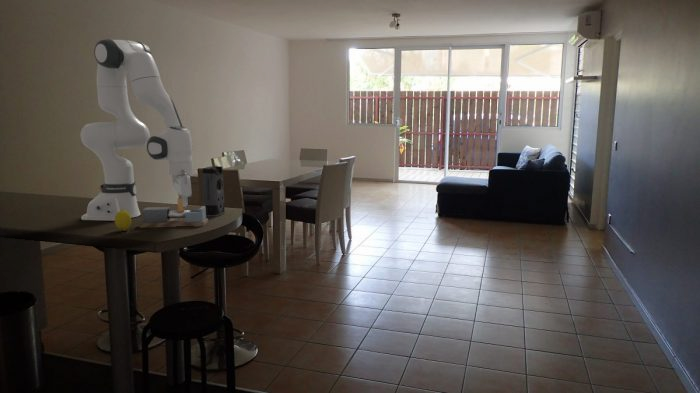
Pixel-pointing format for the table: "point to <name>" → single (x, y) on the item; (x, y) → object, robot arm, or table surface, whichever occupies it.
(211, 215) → the electronic device
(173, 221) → the bench board
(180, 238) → the table surface
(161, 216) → the outer sleeve
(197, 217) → the socket block
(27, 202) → the table surface
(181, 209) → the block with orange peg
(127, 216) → the lemon
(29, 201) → the table surface
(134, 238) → the table surface
